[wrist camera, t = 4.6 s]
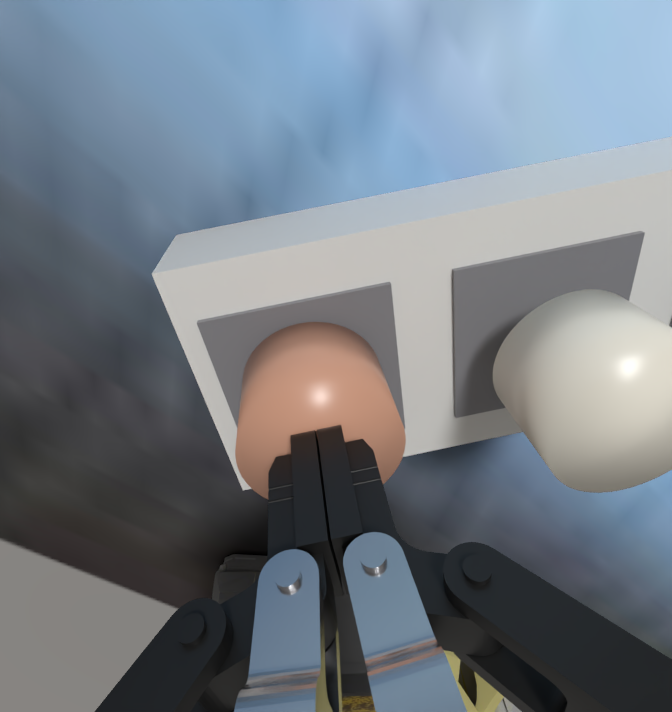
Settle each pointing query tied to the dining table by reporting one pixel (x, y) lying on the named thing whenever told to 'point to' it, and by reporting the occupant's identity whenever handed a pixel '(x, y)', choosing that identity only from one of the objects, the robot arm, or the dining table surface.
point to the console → (426, 280)
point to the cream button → (591, 389)
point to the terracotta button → (314, 398)
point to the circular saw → (357, 646)
